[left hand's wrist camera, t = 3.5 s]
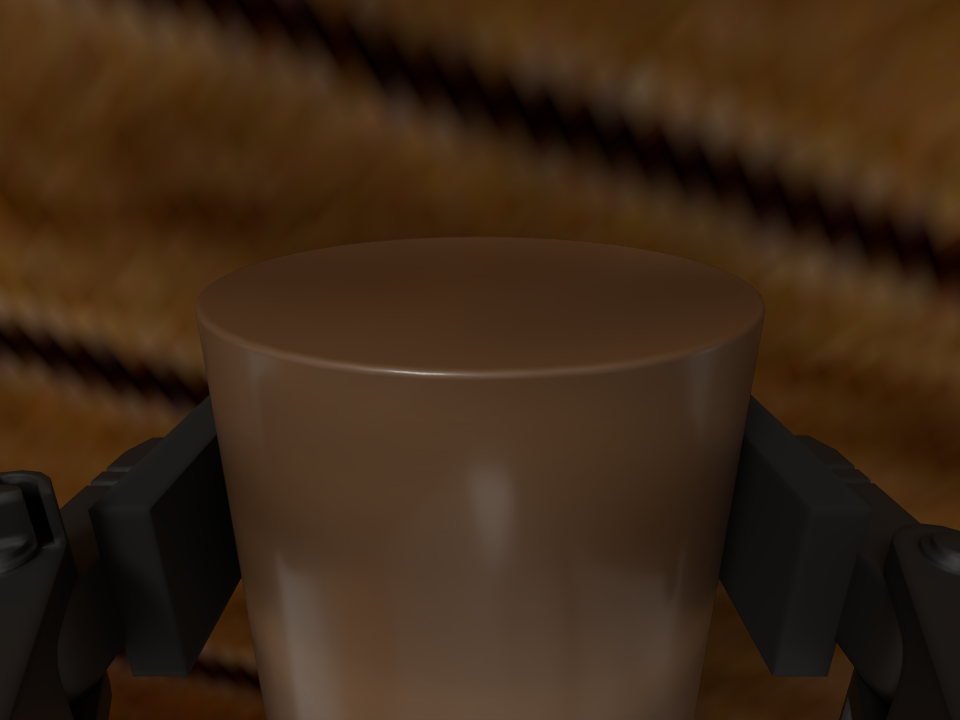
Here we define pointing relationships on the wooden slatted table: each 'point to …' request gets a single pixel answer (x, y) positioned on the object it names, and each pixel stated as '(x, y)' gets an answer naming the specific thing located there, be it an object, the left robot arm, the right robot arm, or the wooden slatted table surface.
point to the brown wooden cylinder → (480, 473)
